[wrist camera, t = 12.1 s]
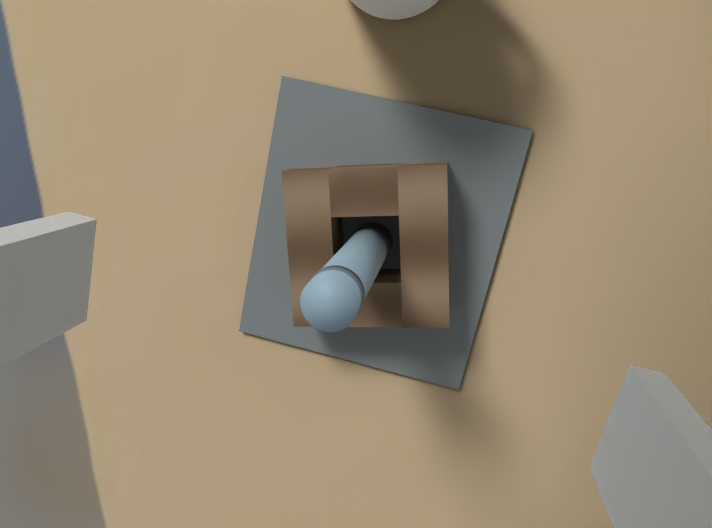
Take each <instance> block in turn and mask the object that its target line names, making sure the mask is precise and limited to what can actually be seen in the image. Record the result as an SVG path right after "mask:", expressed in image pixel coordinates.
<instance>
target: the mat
mask: <svg viewBox="0 0 712 528" xmlns="http://www.w3.org/2000/svg"><path fill="white" fill-rule="evenodd" d="M532 132H533V130H529V129H524V128H520V127H515V126H511V125H506V124H501V123H497V122H492V121H488V120H483V119H478V118H474V117H469V116H464V115H460V114H455V113H451V112H446V111H441V110H437V109H432V108H427V107H423V106H418V105H414V104H409V103H404V102H400V101H395V100H390V99H386V98H381V97H377V96H372V95H367V94H363V93H358V92H354V91H349V90H344V89H340V88H335V87H330V86H326V85H321V84H317V83H312V82H307V81H303V80H298V79H293V78H289V77H284V76H282V80H281V86H280V92H279V98H278V104H277V110H276V116H275V122H274V128H273V133H272V139H271V145H270V151H269V157H268V163H267V169H266V175H265V181H264V187H263V193H262V199H261V205H260V211H259V217H258V223H257V228H256V234H255V240H254V246H253V252H252V258H251V264H250V270H249V276H248V282H247V288H246V294H245V300H244V306H243V312H242V318H241V323H240V329H239V331H241V332H244V333H248V334H252V335H256V336H259V337H263V338H267V339H271V340H274V341H278V342H282V343H285V344H289V345H293V346H297V347H300V348H304V349H308V350H312V351H315V352H319V353H323V354H327V355H330V356H334V357H338V358H341V359H345V360H349V361H353V362H356V363H360V364H364V365H368V366H371V367H375V368H379V369H382V370H386V371H390V372H394V373H397V374H401V375H405V376H409V377H412V378H416V379H420V380H423V381H427V382H431V383H435V384H438V385H442V386H446V387H450V388H453V389H457V390H459V387H460V384H461V380H462V377H463V373H464V370H465V366H466V363H467V359H468V356H469V352H470V349H471V345H472V342H473V338H474V335H475V331H476V328H477V324H478V321H479V317H480V314H481V310H482V307H483V303H484V300H485V296H486V293H487V289H488V286H489V282H490V279H491V275H492V272H493V268H494V265H495V261H496V258H497V254H498V251H499V247H500V244H501V240H502V237H503V233H504V230H505V226H506V223H507V219H508V216H509V213H510V209H511V206H512V202H513V199H514V195H515V192H516V188H517V185H518V181H519V178H520V174H521V171H522V167H523V164H524V160H525V157H526V153H527V150H528V146H529V143H530V139H531V136H532ZM438 161H448V225H449V299H450V325H449V328H418V327H346V328H345V329H343V330H340V331H336V332H325V331H321V330H319V329H317V328H315V327H294V325H293V313H292V300H291V287H290V274H289V262H288V249H287V236H286V223H285V210H284V198H283V185H282V172H281V171H285V170H289V169H293V168H297V167H319V166H343V165H367V164H391V163H414V162H438ZM342 221H343V239H344V244H345V243H346V242H347V241H348V240H349V239H350V238H351V237H352V236H353V235H354V234H355V233H356V232H357V231H358V230H359V229H360V228H361V227H362V226H363V225H365V224H367V223H379V224H382V225H383V226H385V227H386V228H387V229H388V230H389V232H390V234H391V237H392V246H391V249H390V251H389V253H388V255H387V257H386V259H385V261H384V263H383V265H382V266H381V268H380V269H401V264H400V234H399V216H362V217H342Z"/></svg>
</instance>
